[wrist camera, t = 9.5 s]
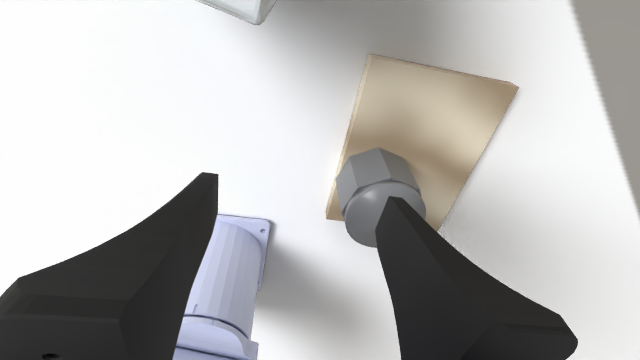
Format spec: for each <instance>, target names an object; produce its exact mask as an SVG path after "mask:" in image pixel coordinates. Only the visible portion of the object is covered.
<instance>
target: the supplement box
mask: <svg viewBox="0 0 640 360" xmlns="http://www.w3.org/2000/svg"><path fill="white" fill-rule="evenodd" d="M196 1H199V2H201V3H204V4H206V5H209V6H211V7H213V8H216V9H218V10H221V11H223V12H226V13H228V14H231V15H233V16H235V17H237V18H240V19H242V20H244V21H247V22H249V23H251V24H254V25H260V24H261V23H262V22H264V20H265V18H266V16H267V15H268V13H269V12H270V10H271V8H272V7H273V5H274V4H275V2H276V1H277V0H196Z"/></svg>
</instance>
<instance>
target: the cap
mask: <svg viewBox="0 0 640 360" xmlns="http://www.w3.org/2000/svg"><path fill="white" fill-rule="evenodd" d="M336 185H337V191H338V197H339V202H340V208H341V213H342V215H343V218H344V220H345V224H346V229H347V231H348V233H349V235H350V236H351V237H352V238H353V239H354V240H355V241H356V242H358V243H360V244H362V245H365V246H368V247H375V248H377V242H376V234H375V229H376V226H377V224H378V221H379V219H380V216H381V214H382V211H383V209H384V207H385V204H386V202H387V199H388V197H389V196H393V197H401V198H403V199H404V200H405V201H406V202H407V203H408V204H409V205H410V206H411V207H412V208H413V209H414V210H415V211H416V212H417V213H418V214H419V215H420V216H421V217H422V218H423V219H424V220H425V218H426V207H425V204H424V202H423V200H422V197H421V192H420V188H419V186H418V184H417V182H416V181H415V179H414V177H413V175H412V173H411V171H410V169H409V168H408V166H407V164H406V162H405V160H404V158H403V157H400V156H398V155H396V154H393V153H391V152H389V151H386V150H384V149H382V148H379V147H377V148H374V149H371V150H368V151H365V152H361V153H358V154H355V155H352V156H349V158H348V159H347V161H346V163H345V164H344V166H343V167H342V169H341V171H340V172H339V174H338V176H337V177H336Z"/></svg>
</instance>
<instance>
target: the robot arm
mask: <svg viewBox="0 0 640 360" xmlns="http://www.w3.org/2000/svg"><path fill="white" fill-rule="evenodd" d="M217 214H218V174H213V173H205V172H202V173H201V174H199V175H198V176H197V177H196V178H195V179H194V180H193V181H192V182H191V183H190V184H189V185H188V186H186V187H185V188H184V189H183V190H182V191H181V192H180V193H178V194H177V195H176V196H175V197H174V198H173V199H171V200H170V201H169V202H168V203H166V204H165V205H164V206H162V207H161V208H160V209H158V210H157V211H156V212H154V213H153V214H152V215H150V216H149V217H148V218H146V219H145V220H143V221H142V222H140V223H139V224H137V225H135V226H134V227H132V228H131V229H129V230H127V231H126V232H124V233H122V234H120V235H118V236H116V237H114V238H112V239H110V240H109V241H107V242H105V243H103V244H101V245H99V246H97V247H95V248H93V249H90V250H88V251H86V252H84V253H82V254H79V255H77V256H75V257H72V258H70V259H68V260H65V261H63V262H60V263H58V264H55V265H52V266H50V267H47V268H44V269H42V270H39V271H36V272H34V273H31V274H28V275H25V276H22V277H19V278H18V279H17V280H16V281H15V282H14V283H13V284H12V285H11V286H10V287H9V288H8V289H7V290H6V291H5V292H4V293H3V294H2V296H1V297H0V360H257V354H258V345H259V344H258V343H257V342H254V341H251V332H252V324H253V316H254V308H255V300H256V292H257V291H259V290H260V289H261V283H262V277H263V270H264V263H265V256H266V249H267V242H268V236H269V229H270V223H269V221H267V220H262V219H252V218H243V217H234V216H224V215H217ZM262 229H265V230H262ZM375 234H376V242H377V249H378V253H379V257H380V261H381V264H382V268H383V271H384V275H385V278H386V282H387V285H388V288H389V292H390V295H391V299H392V303H393V308H394V314H395V319H396V325H397V331H398V338H399V345H400V352H401V360H566V359H567V358H568V357H569V356H570V355H572V354H573V353H574V351H575V350H576V348H577V345H578V339H577V338H576V337H575V335H574V334H573V332H572V331H571V330H570V328H569V327H568V325H567V324H566V323H565V321H564V320H563V318H562V317H561V316H560V315H559V314H557V313H555V312H553V311H551V310H549V309H547V308H545V307H543V306H542V305H540V304H538V303H536V302H534V301H532V300H530V299H528V298H526V297H525V296H523V295H521V294H519V293H518V292H516V291H514V290H513V289H511V288H509V287H508V286H506V285H504V284H503V283H501V282H500V281H498V280H496V279H495V278H493V277H492V276H491V275H489V274H488V273H486V272H485V271H483V270H482V269H480V268H479V267H478V266H476V265H475V264H474V263H472V262H471V261H470V260H468V259H467V258H466V257H465V256H463V255H462V254H461V253H460V252H458V251H457V250H456V249H455V248H454V247H452V246H451V245H450V244H449V243H448V242H447V241H446V240H445V239H444V238H442V237H441V236H440V235H439V234H438V233H437V232H436V231H435V230H434V229H433V228H432V227H431V226H430V225H429V224H428V223H427V222H426V221H425V220H424V219H423V218H422V217H421V216H420V215H419V214H418V213H417V212H416V211H415V210H414V209H413V208H412V207H411V206H410V205H409V204H408V203H407V202H406V201H405V200H404V199H403V198H401V197H393V196H389V197H388V199H387V202H386V204H385V207H384V209H383V211H382V214H381V216H380V219H379V221H378V224H377V226H376V229H375Z"/></svg>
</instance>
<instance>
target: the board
mask: <svg viewBox="0 0 640 360" xmlns="http://www.w3.org/2000/svg"><path fill="white" fill-rule="evenodd" d="M518 88H519V87H517V86H516V85H514V84H512V83H510V82H505V81H501V80H496V79H491V78H486V77H481V76H476V75H471V74H466V73H461V72H456V71H451V70H446V69H441V68H436V67H431V66H426V65H421V64H417V63H412V62H407V61H402V60H397V59H392V58H387V57H382V56H377V55H372V54H369V55H368V58H367V62H366V66H365V69H364V73H363V76H362V80H361V84H360V87H359V91H358V95H357V98H356V102H355V106H354V109H353V113H352V117H351V120H350V124H349V128H348V131H347V135H346V139H345V142H344V146H343V150H342V153H341V157H340V161H339V164H338V168H337V171H336V175H335V179H334V182H333V186H332V190H331V193H330V197H329V201H328V204H327V208H326V219H330V220H339V221H345V220H344V218H343V215H342V213H341V208H340V202H339V197H338V191H337V185H336V177H337V176H338V174H339V172H340V171H341V169H342V167H343V166H344V164H345V163H346V161H347V159H348V158H349V156H352V155H355V154H358V153H361V152H365V151H368V150H371V149H374V148H377V147H379V148H382V149H384V150H386V151H389V152H391V153H393V154H396V155H398V156H400V157H403V158H404V160H405V162H406V164H407V166H408V168H409V169H410V171H411V173H412V175H413V177H414V179H415V181H416V182H417V184H418V186H419V188H420V192H421V197H422V200H423V202H424V204H425V207H426V218H425V221H426V222H427V223H428V224H429V225H430V226H431V227H432V228H433V229H434V230H435V231H438V230H439V228H440V226H441V224H442V222H443V221H444V219H445V217H446V215H447V214H448V212H449V210H450V208H451V207H452V205H453V203H454V201H455V199H456V198H457V196H458V194H459V192H460V191H461V189H462V187H463V185H464V184H465V182H466V180H467V178H468V177H469V175H470V173H471V171H472V169H473V168H474V166H475V164H476V162H477V161H478V159H479V157H480V155H481V154H482V152H483V150H484V148H485V147H486V145H487V143H488V141H489V139H490V138H491V136H492V134H493V132H494V131H495V129H496V127H497V125H498V124H499V122H500V120H501V118H502V116H503V115H504V113H505V111H506V109H507V108H508V106H509V104H510V102H511V101H512V99H513V97H514V95H515V94H516V92H517V90H518Z"/></svg>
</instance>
